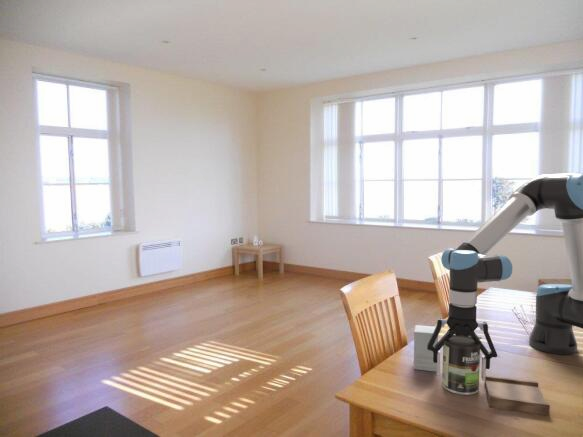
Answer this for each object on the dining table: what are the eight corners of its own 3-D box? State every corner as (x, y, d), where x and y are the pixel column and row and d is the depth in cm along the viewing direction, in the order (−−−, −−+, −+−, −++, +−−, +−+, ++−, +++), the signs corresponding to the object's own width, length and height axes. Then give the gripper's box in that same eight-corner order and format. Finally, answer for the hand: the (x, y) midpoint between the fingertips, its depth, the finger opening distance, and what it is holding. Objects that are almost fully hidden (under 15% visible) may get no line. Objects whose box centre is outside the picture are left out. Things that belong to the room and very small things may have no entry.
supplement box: (437, 363, 145) (438, 326, 144) (437, 372, 138) (438, 333, 137) (414, 360, 148) (415, 324, 146) (413, 369, 141) (413, 331, 140)
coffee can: (487, 391, 126) (488, 343, 125) (460, 398, 122) (461, 349, 120) (460, 376, 135) (461, 332, 134) (434, 382, 131) (435, 337, 130)
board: (537, 391, 126) (537, 381, 125) (549, 415, 112) (549, 405, 112) (484, 384, 130) (484, 375, 130) (490, 407, 117) (490, 397, 116)
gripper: (506, 303, 126) (503, 376, 128) (420, 297, 134) (418, 365, 135) (510, 311, 119) (507, 387, 121) (419, 303, 127) (417, 375, 128)
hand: (460, 376), depth 128 cm, fingers open, 12 cm apart
